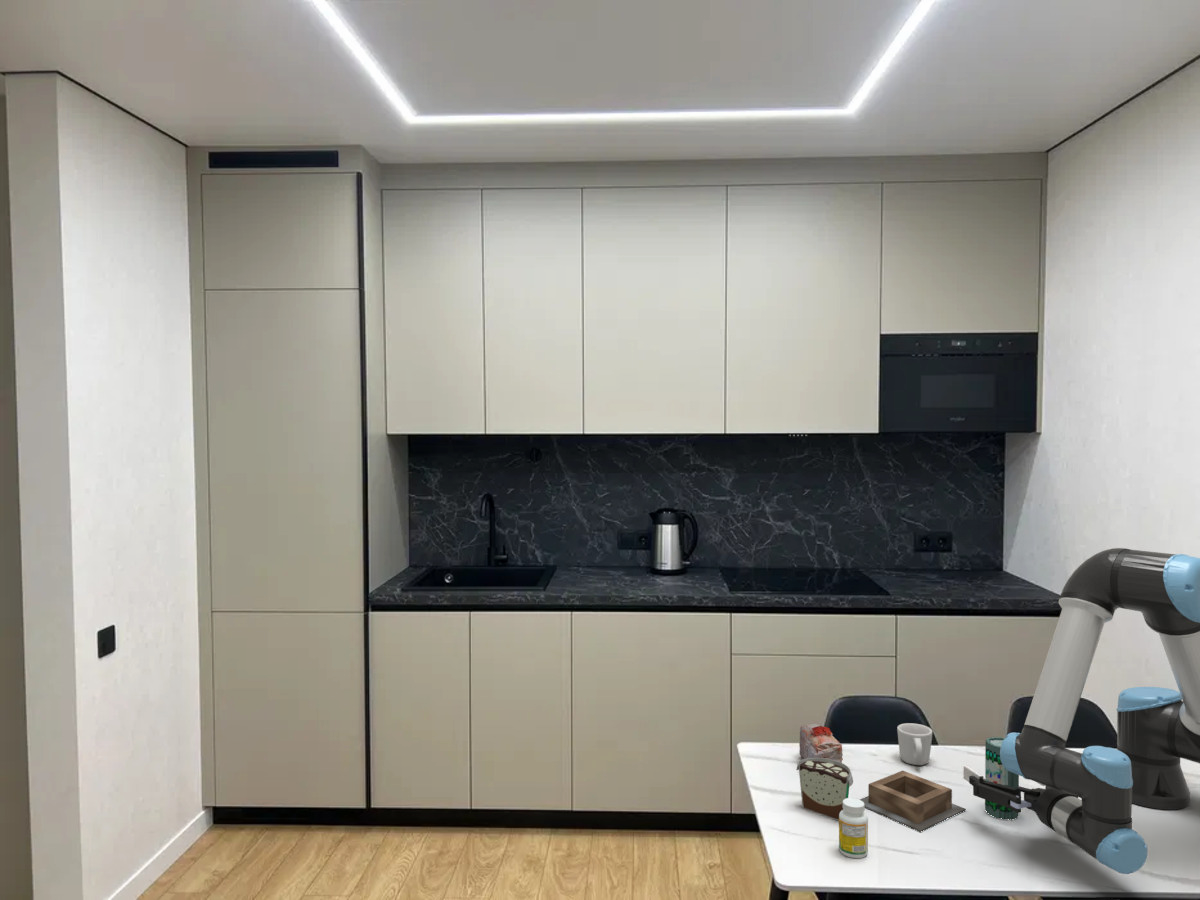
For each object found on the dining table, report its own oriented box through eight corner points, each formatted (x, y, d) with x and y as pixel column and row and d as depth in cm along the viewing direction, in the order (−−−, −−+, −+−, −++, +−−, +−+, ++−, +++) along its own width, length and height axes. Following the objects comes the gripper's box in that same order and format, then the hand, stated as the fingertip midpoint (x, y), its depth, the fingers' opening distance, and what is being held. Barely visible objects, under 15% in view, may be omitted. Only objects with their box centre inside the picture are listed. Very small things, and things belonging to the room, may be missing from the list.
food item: (847, 778, 196) (847, 736, 195) (813, 780, 195) (813, 738, 194) (825, 755, 209) (825, 716, 209) (793, 757, 208) (793, 717, 208)
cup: (937, 774, 197) (937, 740, 197) (901, 771, 199) (901, 738, 199) (929, 756, 208) (929, 723, 208) (895, 753, 210) (895, 721, 209)
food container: (863, 814, 178) (863, 767, 177) (850, 825, 173) (850, 776, 173) (810, 797, 186) (810, 752, 186) (796, 806, 181) (796, 760, 181)
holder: (965, 810, 179) (966, 790, 179) (920, 832, 170) (920, 810, 170) (900, 784, 192) (900, 765, 192) (854, 803, 183) (854, 783, 183)
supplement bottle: (860, 862, 159) (860, 811, 158) (833, 852, 162) (833, 803, 162) (872, 850, 163) (872, 801, 162) (846, 842, 166) (846, 793, 166)
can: (980, 812, 178) (980, 741, 178) (994, 803, 182) (995, 734, 181) (1008, 822, 173) (1009, 750, 173) (1023, 814, 177) (1024, 743, 177)
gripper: (1006, 841, 157) (940, 791, 177) (1124, 828, 161) (1046, 781, 182) (1007, 801, 156) (940, 756, 177) (1124, 789, 161) (1046, 747, 182)
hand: (994, 769), depth 180 cm, fingers open, 13 cm apart
